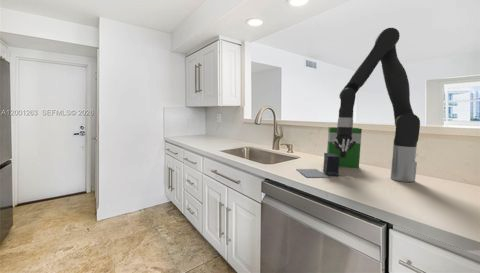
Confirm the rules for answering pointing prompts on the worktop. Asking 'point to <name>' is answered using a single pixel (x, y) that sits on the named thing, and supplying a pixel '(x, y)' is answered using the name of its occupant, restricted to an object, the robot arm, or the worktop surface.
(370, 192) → the worktop surface
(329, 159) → the small box
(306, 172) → the mat
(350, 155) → the green cereal box
